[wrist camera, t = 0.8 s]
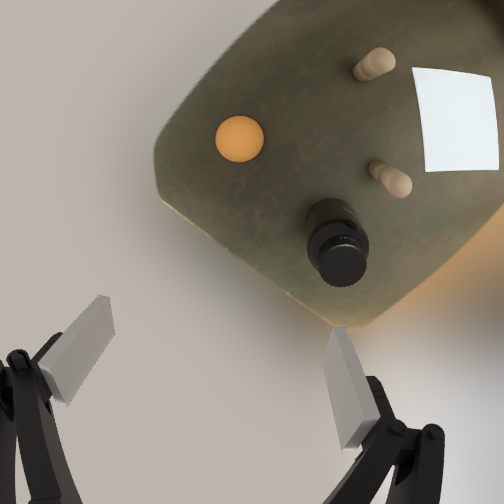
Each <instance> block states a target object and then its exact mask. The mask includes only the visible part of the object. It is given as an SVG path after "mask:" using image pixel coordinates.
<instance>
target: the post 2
mask: <svg viewBox="0 0 504 504" xmlns="http://www.w3.org/2000/svg"><path fill="white" fill-rule="evenodd" d="M368 172H369V174H370V176H371V177H373V178H374V179H375V180H376V181H377V182H379V183H380V184H381V185H382V186H383V187H384V188H386V189H387V190H388V191H389V192H390V193H391V194H392V195H394V196H395V197H397V198H404V197H406V196H408V195H409V193H410V192H411V189H412V182H411V179H410V178H409V177H408V176H407V175H406V174H404V173H402V172H401V171H399V170H397V169H395V168H394V167H392V166H390V165H388V164H386V163H385V162H383V161H381V160H373V161H372V162H370V164H369V166H368Z"/></svg>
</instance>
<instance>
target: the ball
mask: <svg viewBox="0 0 504 504" xmlns="http://www.w3.org/2000/svg"><path fill="white" fill-rule="evenodd" d="M263 142H264V136H263V131H262V129H261V127H260V126H259V124H258V123H257V122H256V121H254V120H253V119H251V118H249V117H246V116H234V117H231V118H229V119H227V120H225V121H224V122H223V123H222V124H221V125H220V126H219V128H218V130H217V133H216V146H217V148H218V150H219V152H220V153H221V154H222V155H223V156H224V157H225V158H226V159H228V160H231V161H234V162H245V161H248V160H251V159H252V158H254V157H255V156H256V155H257V154H258V153H259V152H260V150H261V148H262V146H263Z"/></svg>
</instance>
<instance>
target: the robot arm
mask: <svg viewBox="0 0 504 504" xmlns="http://www.w3.org/2000/svg"><path fill="white" fill-rule="evenodd" d="M114 335H115V329H114V325H113V318H112V311H111V304H110V297H107V296H102V295H99V296H98V297H97V298H96V299H95V300H94V301H93V302H92V303H91V304H90V305H89V306H88V307H87V308H86V309H85V310H84V311H83V312H82V313H81V314H80V315H79V317H78V318H77V319H76V320H75V321H74V322H73V323H72V324H71V325H70V326H69V327H68V329H67V330H66V331H65V332H64V333H61V332H58V333H57V334H55V335H53V336H52V337H51V338H50V339H49V340H48V341H47V343H45V345H44V346H43V347H42V348H41V349H40V350H39V351H38V352H37V354H36V355H35V356H34V357H33V358H32V359H31V360H30V358H29V356H28V353H27V352H26V351H25V350H22V349H17V350H14V351H12V352H11V353H9V355H8V356H7V359H6V361H7V363H8V365H9V367H5V366H4V365H3V363H2V361H1V360H0V504H16V496H15V452H16V437H17V436H18V443H19V448H20V454H21V459H22V464H23V468H24V473H25V476H26V480H27V484H28V488H29V491H30V495H31V500H30V501H29V503H28V504H83V503H82V501H81V498H80V496H79V494H78V491H77V489H76V486H75V484H74V481H73V479H72V476H71V473H70V470H69V468H68V465H67V462H66V459H65V456H64V452H63V449H62V446H61V442H60V439H59V435H58V431H57V427H56V423H55V419H54V415H53V410H52V406H51V402H50V400H49V399H50V397H51V396H52V395H53V397H54V399H55V401H56V402H57V403H59V404H62V405H64V406H66V407H68V406H69V404H70V402H71V401H72V399H73V397H74V396H75V394H76V393H77V391H78V389H79V388H80V386H81V385H82V383H83V381H84V380H85V378H86V377H87V375H88V374H89V372H90V370H91V369H92V367H93V366H94V364H95V363H96V361H97V360H98V358H99V357H100V355H101V354H102V353H103V351H104V349H105V348H106V347H107V345H108V343H109V342H110V341H111V339H112V338H113V336H114ZM322 366H323V370H324V374H325V379H326V383H327V387H328V391H329V396H330V400H331V404H332V409H333V413H334V418H335V423H336V427H337V432H338V437H339V441H340V446H341V451H349V450H357V448H358V447H359V445H360V444H361V445H362V448H363V451H362V452H361V453H360V454H359V456H358V457H357V458H356V459H355V462H354V463H353V465H352V466H351V468H350V469H349V470H348V472H347V473H346V475H345V476H344V477H343V479H342V480H341V481H340V483H339V484H338V485H337V486H336V488H335V489H334V490H333V492H332V493H331V494H330V495H329V496H328V498H327V499H326V500H325V501H324V502H323V504H370V502H371V501H372V499H373V498H374V496H375V494H376V493H377V491H378V490H379V488H380V486H381V484H382V483H383V481H384V479H385V477H386V476H387V474H388V472H389V470H390V468H391V467H392V465H394V466H395V469H394V473H393V477H392V481H391V485H390V490H389V493H388V497H387V500H386V504H439V502H440V494H441V486H442V478H443V466H444V448H445V434H444V431H443V429H442V428H441V427H440V426H438V425H436V424H427V425H426V426H425V427H424V428H423V429H422V430H419V429H411V428H407V426H406V425H405V424H404V423H403V422H402V421H400V420H398V419H396V418H395V416H394V413H393V411H392V408H391V406H390V403H389V401H388V398H387V397H386V394H385V391H384V389H383V386H382V384H381V382H380V381H379V380H378V379H377V378H376V377H375V376H365V374H364V371H363V369H362V366H361V364H360V361H359V359H358V356H357V354H356V351H355V349H354V346H353V344H352V341H351V339H350V337H349V334H348V332H347V329H346V327H333V330H332V332H331V336H330V339H329V342H328V345H327V348H326V351H325V354H324V356H323V359H322Z"/></svg>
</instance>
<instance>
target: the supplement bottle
mask: <svg viewBox="0 0 504 504" xmlns="http://www.w3.org/2000/svg"><path fill="white" fill-rule="evenodd" d="M307 252H308V257H309V260H310V262H311V264H312V265H313V267H314V268H315V269H316V270H317V271H318V272H319V274H320V275H321V277H322V278H323V280H324V281H326V282H327V283H328V284H330V285H331V286H335V287H346V286H350V285H353V284H354V283H356V282H358V280H360V279H361V277H362V276H363V275H364V273H365V269H366V268H367V267H366V264H367V262H366V260H367V257H368V254H369V240H368V237H367V235H366V233H365V231H364V229H363V227H362V225H361V223H360V221H359V219H358V217H357V215H356V214H355V212H354V210H353V209H352V208H351V207H350V206H349V205H348V204H347V203H345V202H343V201H340V200H336V199H329V200H324V201H322V202H320V203H318V204H317V205H315V206H314V207H313V208H312V210H311V211H310V213H309V215H308V218H307Z"/></svg>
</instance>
